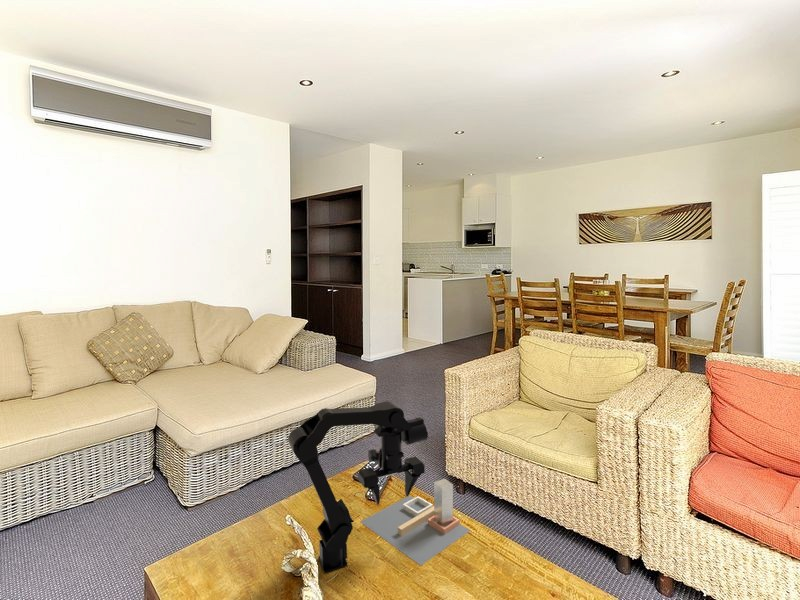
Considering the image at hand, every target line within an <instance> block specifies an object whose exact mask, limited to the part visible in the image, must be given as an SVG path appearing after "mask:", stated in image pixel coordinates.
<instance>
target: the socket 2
mask: <svg viewBox="0 0 800 600" xmlns="http://www.w3.org/2000/svg"><path fill="white" fill-rule="evenodd" d="M460 521H461V520H460V519H459V518H457V517H455V516H454V515H453V523H451V524H449V525H448V526H446V527H445V528H444V527H442V526H441V525H439V524H437V523H436V522H434V516H432V517H431V518H429V519H428V524H429V525H430V526H432V527H433V528H435V529H437V530H438V531H440V532H442V533H443V534H446V533H448V532H449V531H451V530H452V529H454V528H455V527H457V526H458V525H461V523H460Z"/></svg>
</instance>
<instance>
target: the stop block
mask: <svg viewBox="0 0 800 600" xmlns="http://www.w3.org/2000/svg"><path fill="white" fill-rule="evenodd" d="M433 498H434V499H433V503H434V504H433V506H434V522H436V523H437V524H439V525H441V526H442V527H444V528H445V527H446V526H448V525H449V524H451V523H453V516H454V484H453V483H452V482H450V481H449V480H447V479H446V478H441V479H439V480H437V481H434V482H433Z"/></svg>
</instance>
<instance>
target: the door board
mask: <svg viewBox="0 0 800 600" xmlns="http://www.w3.org/2000/svg"><path fill="white" fill-rule="evenodd" d="M414 498H415V497H413V496H411V495H410V494H409V496H408V497H407V496H406V497H404V498H402V499H400V500H398V501H397V502H395V503H392V504H391V505H389V506H387V507H385V508H383V509H382V510H380V511H378V512H376V513H374V514H372V515H369V516H368V517H366V518H364V519H362V520H361V521H360V524H362V525H363V526H366V528H368V529H369V530H371V532H374V533H375V534H376V535H378V536H379V537H380V538H382V539H383V540H385V541H386V542H387V543H388V544H390V545H391V546H393V548H395V549H397V550H399V551H400V552H401V553H402V554H404V555H405V556H407V557H409V559H411V560H412V561H413V562H415V563H416V564H418V565H419V566H422V565H424V564H426V562H428V561H430V560H431V559H432V558H434V557H435V556H436V555H438V554H439V553H441V552H442V551H444V550H445V549H447V548H448V547H450V546H451V545H452V544H454V543H455V542H457V541H458V540H460V539H461V538H463V537H464V536H465V535H466V534H468V533H470V532H471V531H472V530H471V529H469V528H468V527H466V526H464V525H463V524H460V525H458V526H457V527H455V528H454V529H452V530H451V531H449V532H448V533H446V534H443V533H442V532H440V531H438V530H437V529H435V528H433V527H432V526H430V525H429V524H428V519H429V518H431V517H432V516H434V505H433V507H431V508H430V509H428V510H426V511H425V512H423V513H421V514H419V515H418V516H414V515H412V514H411V513H409V512H407V511H406V510H404V509H403V504H404V503H406V502H408V501H410V500H412V499H414ZM410 507H411V508H412V509H414V510H416V511H417V512H418V511H420V510H422V509H424V508H425V507H426V506H424V505H422V504H421V503H419V502H417V503H415V504H413V505H411V506H410Z"/></svg>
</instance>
